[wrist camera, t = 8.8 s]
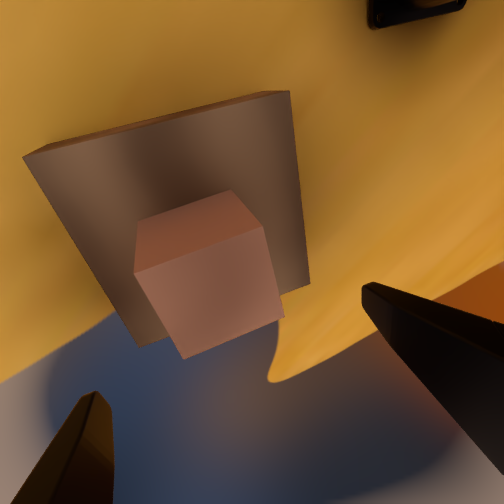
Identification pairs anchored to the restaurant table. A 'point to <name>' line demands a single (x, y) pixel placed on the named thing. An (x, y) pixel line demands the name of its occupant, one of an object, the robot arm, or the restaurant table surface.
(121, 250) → the walnut block
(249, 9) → the restaurant table surface
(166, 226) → the terracotta cube
